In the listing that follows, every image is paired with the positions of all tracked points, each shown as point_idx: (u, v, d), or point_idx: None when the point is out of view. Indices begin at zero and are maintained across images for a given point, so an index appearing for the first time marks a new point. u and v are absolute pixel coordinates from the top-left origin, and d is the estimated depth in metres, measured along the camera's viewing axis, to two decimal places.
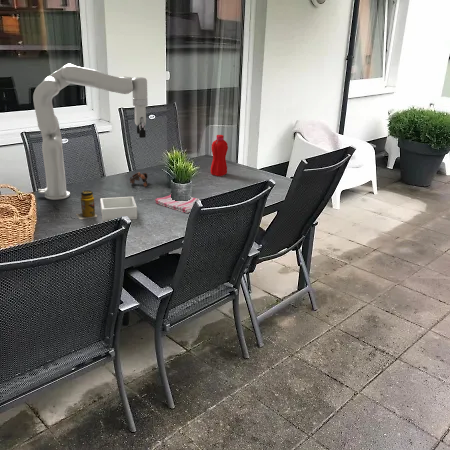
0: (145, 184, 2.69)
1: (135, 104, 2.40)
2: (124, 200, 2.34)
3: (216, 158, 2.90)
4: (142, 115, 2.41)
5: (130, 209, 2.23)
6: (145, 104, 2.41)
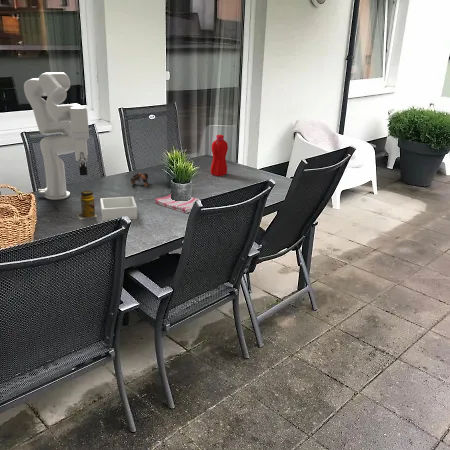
0: (146, 184, 2.69)
1: (74, 137, 2.08)
2: (124, 200, 2.34)
3: (216, 158, 2.90)
4: (81, 150, 2.09)
5: (130, 209, 2.23)
6: (85, 137, 2.09)
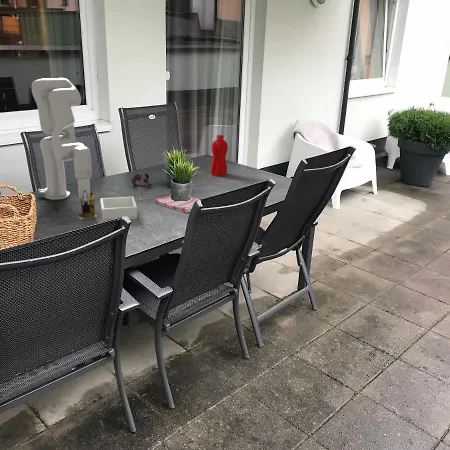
0: (147, 185, 2.68)
1: (77, 176, 2.15)
2: (124, 200, 2.34)
3: (216, 158, 2.90)
4: (84, 188, 2.16)
5: (130, 209, 2.23)
6: (88, 176, 2.16)
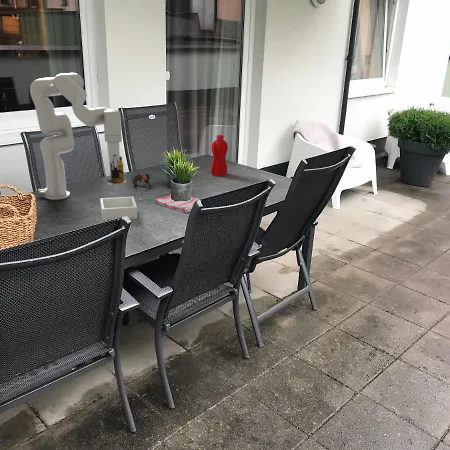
0: (148, 185, 2.68)
1: (107, 140, 2.12)
2: (124, 200, 2.34)
3: (216, 158, 2.90)
4: (114, 152, 2.13)
5: (130, 209, 2.23)
6: (118, 140, 2.13)
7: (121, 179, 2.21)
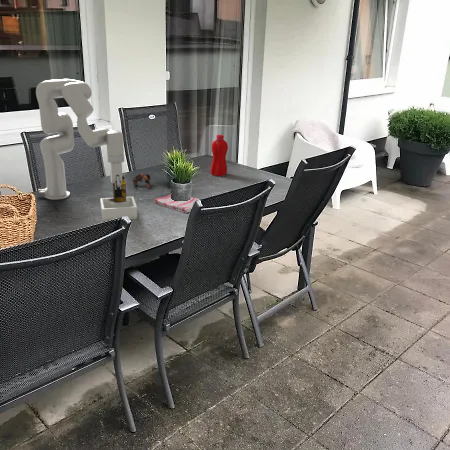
0: (148, 185, 2.67)
1: (110, 161, 2.16)
2: None
3: (216, 158, 2.90)
4: (117, 173, 2.17)
5: (130, 209, 2.23)
6: (121, 160, 2.17)
7: (124, 198, 2.25)
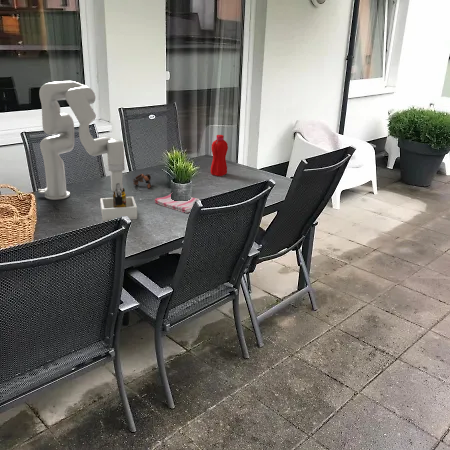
0: (149, 185, 2.67)
1: (110, 169, 2.18)
2: None
3: (216, 158, 2.90)
4: (118, 181, 2.18)
5: (130, 209, 2.23)
6: (121, 169, 2.19)
7: None
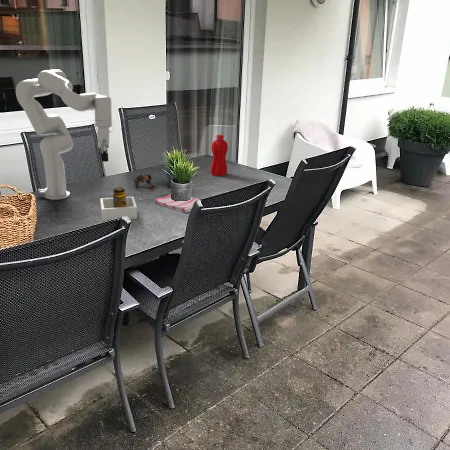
0: (149, 186, 2.67)
1: (97, 125, 2.18)
2: None
3: (216, 158, 2.90)
4: (104, 137, 2.19)
5: (130, 209, 2.23)
6: (108, 125, 2.19)
7: None
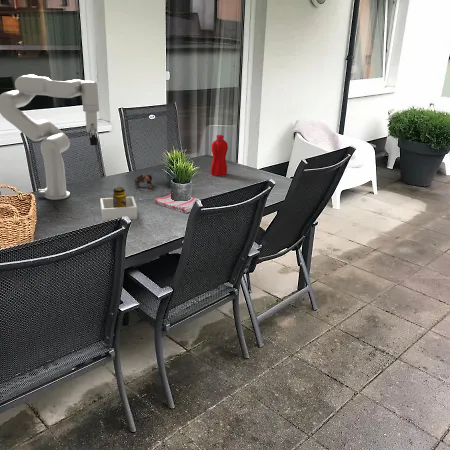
0: (150, 186, 2.66)
1: (85, 110, 2.25)
2: None
3: (216, 158, 2.90)
4: (92, 121, 2.26)
5: (130, 209, 2.23)
6: (96, 110, 2.26)
7: None
